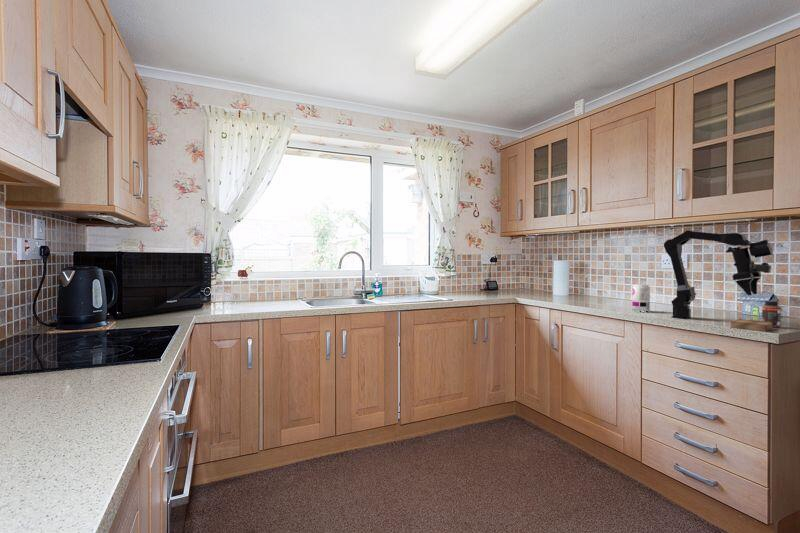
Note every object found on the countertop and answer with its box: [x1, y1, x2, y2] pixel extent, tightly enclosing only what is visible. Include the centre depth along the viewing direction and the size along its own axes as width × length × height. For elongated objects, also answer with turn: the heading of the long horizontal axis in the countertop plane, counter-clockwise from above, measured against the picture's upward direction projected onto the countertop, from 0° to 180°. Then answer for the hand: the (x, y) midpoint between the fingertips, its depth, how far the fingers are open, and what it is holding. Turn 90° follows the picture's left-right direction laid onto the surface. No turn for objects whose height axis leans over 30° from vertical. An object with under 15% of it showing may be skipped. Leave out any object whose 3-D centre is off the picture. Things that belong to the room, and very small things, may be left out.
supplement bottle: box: [761, 300, 782, 329], centre depth 172 cm, size 6×6×11 cm
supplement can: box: [631, 283, 651, 313], centre depth 220 cm, size 8×8×15 cm
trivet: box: [730, 318, 773, 332], centre depth 169 cm, size 11×11×3 cm
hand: (752, 294), depth 176 cm, fingers open, 9 cm apart
